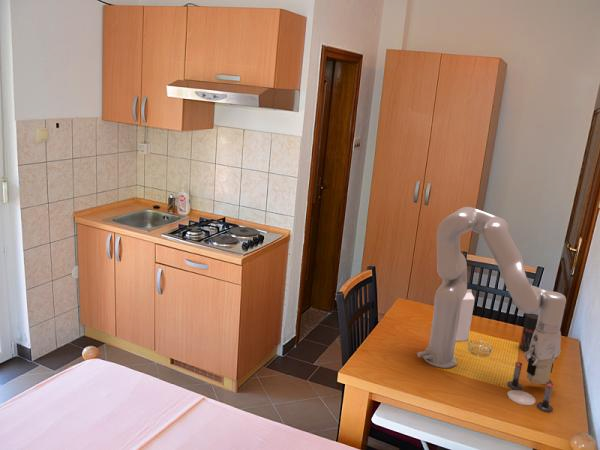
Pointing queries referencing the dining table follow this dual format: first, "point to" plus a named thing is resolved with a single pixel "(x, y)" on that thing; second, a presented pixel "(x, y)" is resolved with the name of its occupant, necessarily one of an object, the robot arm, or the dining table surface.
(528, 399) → the pad
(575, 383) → the dining table surface
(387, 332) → the dining table surface
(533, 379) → the skincare box
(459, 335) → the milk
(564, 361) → the dining table surface
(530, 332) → the deodorant
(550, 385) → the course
